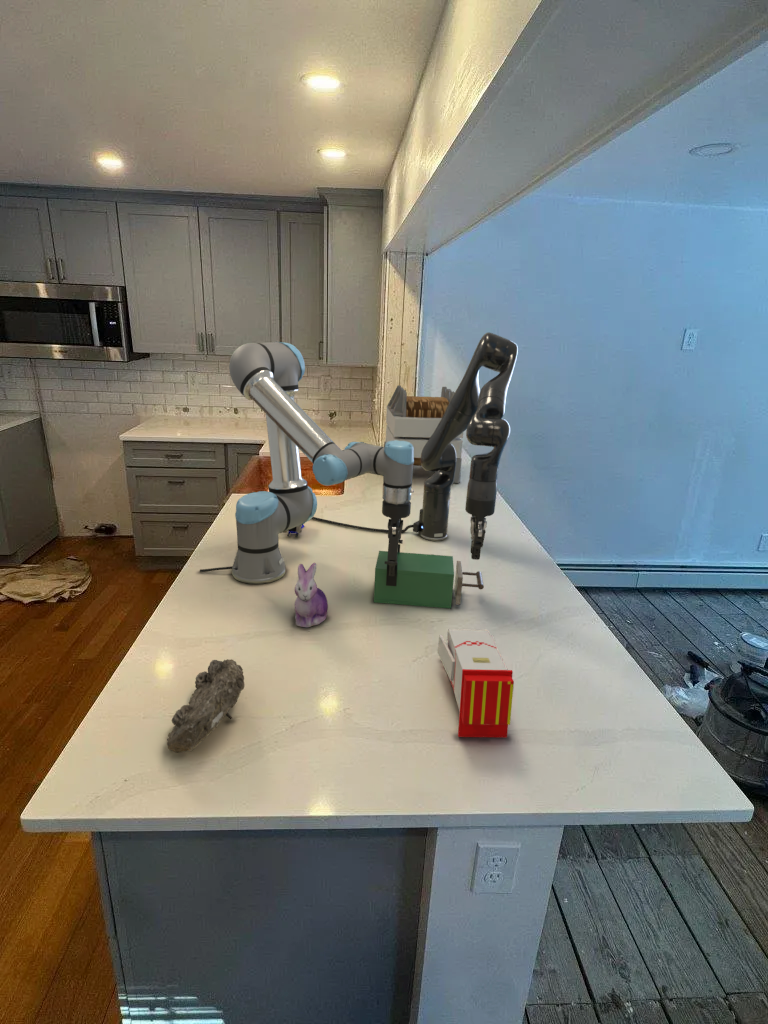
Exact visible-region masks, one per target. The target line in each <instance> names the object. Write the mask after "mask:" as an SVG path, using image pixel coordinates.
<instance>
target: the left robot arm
mask: <svg viewBox="0 0 768 1024" xmlns="http://www.w3.org/2000/svg"><path fill="white" fill-rule="evenodd" d="M228 368H229V369H228V370H229V376H230V379H231V380H232V383H233V384H234V386H235V388H236V389H237V390H238V392H239V393H240V394H241V395H242V396H243V397H244V398H245V399H246V400H249V401H253V402H254V403H255V404H256V405H257V406H258V407H259V408H260V409H261V410H262V412H263V413H265V421H266V422H265V423H266V431H267V438H268V448H269V457H270V458H269V459H270V465H271V466H270V467H271V475H272V480H271V481H270V483H268V486H267V487H268V491H264V490H262V491H261V490H259V491H257V492H255V491H253V492H250V493H246V494H244V495H243V496H241V497H240V498H239V499H238V500H237V501H236V504H235V514H234V517H235V525H236V526H235V527H236V543H237V549H236V554H235V557H234V560H233V563H232V566H231V565H230V566H222V567H212V568H203V569H199V572H200V573H206V572H207V573H208V572H215V571H225V570H231V574H232V577H233V579H234V580H236V581H239V582H240V583H244V584H249V585H262V584H263V585H264V584H269V583H272V582H276V581H278V580H279V579H282V578H283V577H284V576H285V574H286V563H285V559H284V556H283V555H282V553H281V550H280V546H279V545H280V543H279V537H280V535H279V534H281V533H283V532H284V531H287V530H289V529H292V528H294V527H297V526H300V525H305V524H306V523H307V522H309V521H310V520H313V519H312V517H315V514H316V512H317V508H318V499H317V495H316V493H315V492H313V491H314V490H313V488H312V487H310V486H309V483H308V481H307V480H306V479H305V478H304V477H303V476H302V466H301V456H300V455H301V454H300V451H301V453H303V454H304V456H305V457H306V458H307V459H308V460H309V461H310V462H311V463H312V474H314V475H313V476H314V478H315V480H316V481H317V482H318V483H319V484H320V485H323V486H326V487H328V486H334V485H338V484H342V483H344V482H345V481H348V480H351V479H354V478H357V477H359V476H362V475H366V474H372V475H376V476H381V477H382V479H383V480H382V481H383V483H382V496H381V497H382V506H381V513H382V515H383V516H384V517H386V518H388V522H387V530H388V533H387V539H388V547H387V551H388V558H387V561H385V564H387V577H386V586H396V583H397V565H398V562H397V556H398V552H401V544H403V543H404V542H403V541H404V540H403V539H402V533H401V531H402V530H403V529H404V519H405V518H408V517H410V515H411V509H412V508H411V507H412V502H411V500H412V494H414V493H415V489H413V488H412V487H413V475H414V474H413V473H414V466H413V463H414V447H413V445H412V444H411V443H409V442H406V441H398V440H394V441H388V442H387V443H386V444H385V447H384V446H381V445H375V444H371V443H367V442H364V441H351V442H348V444H347V445H346V446H345V447H344V449H341V448H340V446H339V445H338V444H336V443H335V442H334V441H333V440H332V439H331V438H330V437H329V436H328V434H327V433H325V432H324V430H323V429H322V428H321V427H320V426H319V425H318V424H317V423H316V422H315V421H314V420H313V419H312V418H311V417H310V416H309V415H308V414H307V413H306V412H305V410H304V409H302V408H301V406H300V405H299V404H297V402H296V401H295V395H296V394H297V393H298V392H299V382H300V381H301V380H302V379H303V376H304V375H305V371H306V364H305V359H304V357H303V354H302V353H301V351H300V350H299V349H298V348H297V347H296V346H295V345H293V344H292V343H290V342H284V341H270V342H247V343H244V344H242V345H240V346H239V347H237V348H236V349H235V350H234V351H233V353H232V354H231V357H230V359H229V364H228ZM287 532H288V531H287Z"/></svg>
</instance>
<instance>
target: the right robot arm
mask: <svg viewBox="0 0 768 1024" xmlns="http://www.w3.org/2000/svg"><path fill="white" fill-rule="evenodd" d="M518 351H519V348H518V344H517V343H516V342H514V341H513V340H511V339H508V338H506V337H503V336H501V335H499V334H496V333H493V332H485V333H484V334H483V335H482V336H481V338H480V340H479V342H478V343H477V345H476V348H475V349H474V352H473V355H472V356H471V359H470V361H469V363H468V366H467V368H466V370H465V372H464V374H463V377H462V379H461V381H460V382H459V384H458V385H457V388H456V390H455V391H454V392H455V393H454V395H453V397H452V399H451V401H450V403H449V405H448V407H447V409H446V411H445V413H444V415H443V417H442V419H441V420H440V422H439V424H438V426H437V428H436V429H435V431H434V433H433V434H432V436H431V437H430V438H429V440H428V441H427V443H426V444H425V446H424V448H423V450H422V452H421V457H420V462H421V466H420V467H422V469H423V470H424V471H426V472H430V473H431V472H432V473H433V472H434V473H433V474H432V475H431V476H429V477H428V478H426V479H425V480H424V482H423V493H422V496H423V497H422V506H421V508H420V509H419V516H418V520H417V521H415V522H413V523H412V524H408V525H407V526H405V527H404V528H402V531H401V534H402V533H406V531H408V530H409V529H411V528H412V532H414V533H417V535H418V536H420V538H421V539H424V540H426V541H432V542H440V541H444V540H446V539H447V538H448V525H449V517H450V516H449V514H450V504H451V494H452V493H451V491H452V486H453V484H454V483H453V481H454V474H455V468H456V450H455V448H454V446H453V445H452V444H450V442H451V441H453V440H454V439H455V438H456V437H458V436H459V435H460V434H461V433H463V434H464V432H465V436H466V439H467V441H468V443H469V444H470V445H472V446H478V447H488V448H489V447H491V448H492V450H490V451H489V452H485V453H478V454H477V453H476V454H475V455H473V456H472V457H471V458H470V459H471V460H470V468H469V478H468V482H467V487H466V488H467V489H466V497H465V498H466V499H465V507H464V508H465V510H464V511H465V512H466V513H467V514H469V515H471V516H470V519H469V521H470V529H469V530H470V540H471V543H470V554H471V555H470V556H471V559H472V560H477V561H478V560H480V559H481V551H482V548H483V547H484V542H485V537H486V532H487V531H486V529H487V525H488V520H487V517H491V516H493V515H494V514H495V511H496V503H497V502H496V501H497V492H498V475H499V468H500V462H501V458H502V455H503V452H504V449H505V447H506V445H507V443H508V441H509V438H510V435H511V426H510V424H509V422H508V421H507V420H506V419H504V418H503V417H504V415H505V413H506V412H505V411H506V403H507V401H506V400H507V394H508V390H509V389H508V388H509V385H510V382H511V380H512V376H513V373H514V369H515V366H516V362H517V357H518V354H519V352H518ZM481 368H486V369H488V370H490V371H493V372H496V373H498V374H497V375H495V376H494V377H493V378H490V379H489V380H487V382H485V384H484V385H483V386H482V387H481V389H480V383H479V382H480V381H479V372H480V370H481ZM311 520H313V521H318V522H323V523H327V524H331V525H336V526H341V527H345V528H350V529H357V530H361V531H362V530H363V531H369V532H376V533H387V534H388V529H384V528H382V529H381V528H374V527H366V526H359V525H354V524H348V523H343V522H338V521H334V520H329V519H325V518H320V517H315V516H313V517H312V519H311Z"/></svg>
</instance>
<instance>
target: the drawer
mask: <svg viewBox="0 0 768 1024" xmlns="http://www.w3.org/2000/svg"><path fill="white" fill-rule="evenodd" d="M464 576H475V577H476V584H475V583H463V580H464ZM463 587H466V588H467V587H469V588H478V590H483V589H484V588H485V584H484V580H483V575H482V572H481V571H479V570H478V571H476V572H468V571H463V565H462V560H456V566H455V574H454V584H453V590H454V601H455V605H461V599H462V590H463Z"/></svg>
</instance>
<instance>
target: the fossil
mask: <svg viewBox="0 0 768 1024" xmlns="http://www.w3.org/2000/svg"><path fill="white" fill-rule="evenodd" d="M243 670H244V669H243V667H242V665H240V664H237V662H236V661H235V660H234V659H232V658H231V659H227V658H226V659H224V660H223V661H222V660H217V659H212V660H211V661H210V663H209V665H208V666H207V671H201V672H199V673H198V674H197V675H196V676H195V680H194V684H195V685H194V687H195V689H194V690H193V693H192V694H191V697H190V698H189V700H188V704H184V705H182V706H181V707H180V709H177V710H176V711H175V713H174V715H173V716H172V718H171V723H172V724H173V727H172V730H171V731H170V732H168V734H167V738H166V741H167V742H166V745H167V749H168V750H169V751H173V752H174V753H176V754H178V753H182V752H188V751H189V752H192V751H193V750H195V748H196V747H197V746H199V744H200V743H201V742H203V741H204V740H205V739H206V738H207V737H208V736H209V735H210V734H211V733H212V732H214V730H215V729H217V727H218V726H219V724H220V722H221V721H222V720H223V719H224V718H225V716H226V717H227V719H229V720H233V717H232V715H230V714H229V710H230V709H231V708H234V706H235V704H236V703H237V702H238V699H239V697H240V695H241V693H242V691H243V690H245V689H244V688H245V675H244V671H243Z"/></svg>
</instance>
